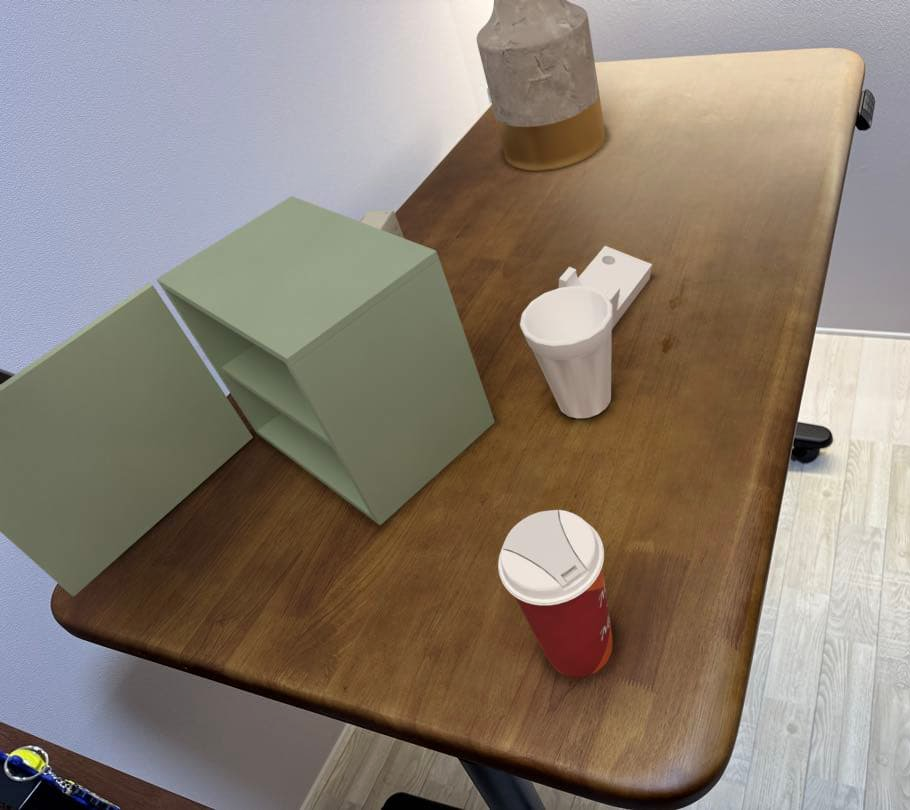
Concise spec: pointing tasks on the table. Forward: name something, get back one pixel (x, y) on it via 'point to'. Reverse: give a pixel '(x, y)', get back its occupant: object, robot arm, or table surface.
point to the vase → (542, 83)
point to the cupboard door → (108, 438)
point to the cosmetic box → (383, 221)
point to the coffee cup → (560, 588)
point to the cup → (573, 346)
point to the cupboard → (337, 349)
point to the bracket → (612, 278)
